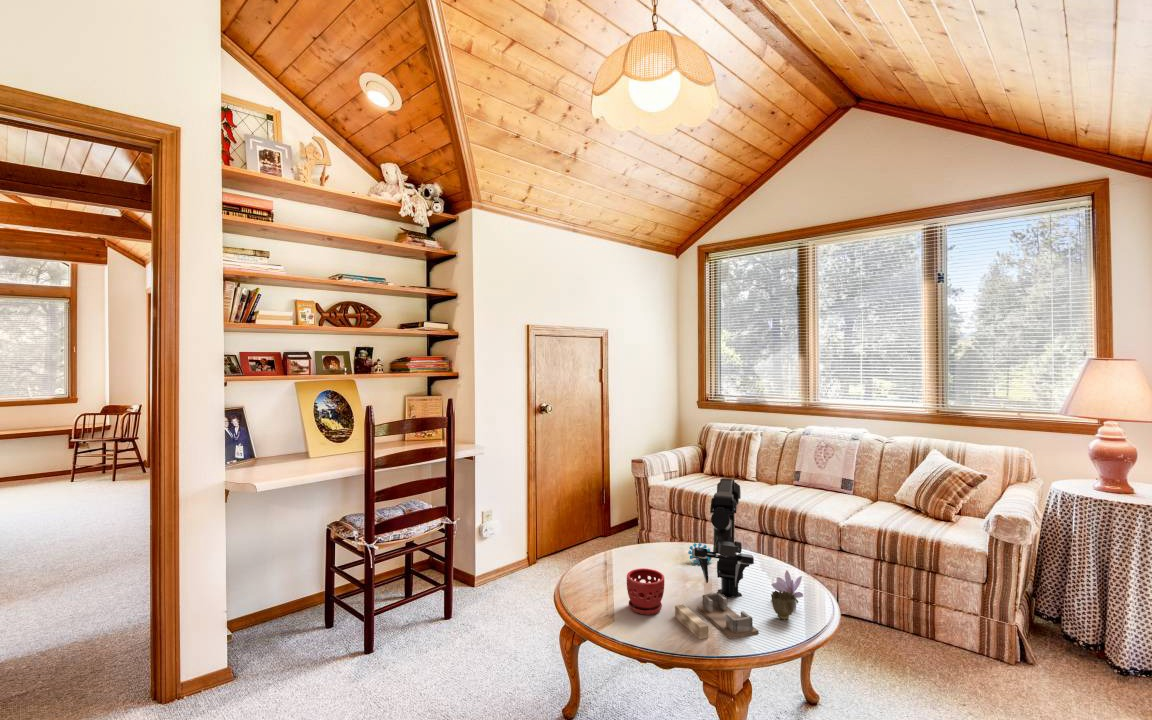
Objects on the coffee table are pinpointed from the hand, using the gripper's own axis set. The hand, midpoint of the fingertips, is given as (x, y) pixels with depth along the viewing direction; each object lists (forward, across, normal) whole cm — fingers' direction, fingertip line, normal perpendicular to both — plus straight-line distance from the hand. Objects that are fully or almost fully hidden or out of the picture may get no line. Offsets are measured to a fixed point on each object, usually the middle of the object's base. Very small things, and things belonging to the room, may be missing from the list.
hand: (721, 584), depth 171 cm
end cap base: (+10, +5, +13) cm, 18 cm away
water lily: (+3, +28, +25) cm, 38 cm away
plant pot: (+10, -21, +22) cm, 32 cm away
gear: (-11, +6, +64) cm, 65 cm away
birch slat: (+14, -7, +10) cm, 18 cm away
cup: (+7, +24, +15) cm, 29 cm away
